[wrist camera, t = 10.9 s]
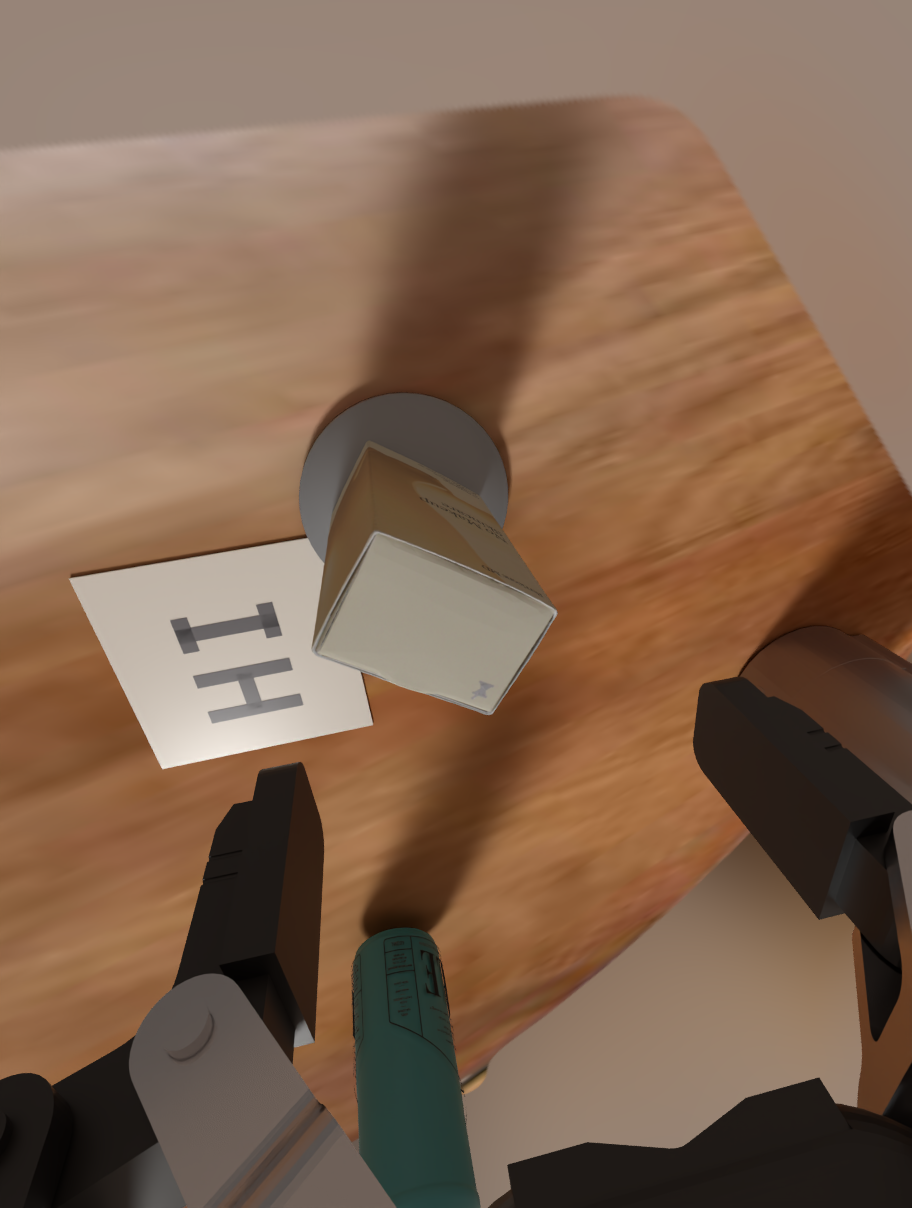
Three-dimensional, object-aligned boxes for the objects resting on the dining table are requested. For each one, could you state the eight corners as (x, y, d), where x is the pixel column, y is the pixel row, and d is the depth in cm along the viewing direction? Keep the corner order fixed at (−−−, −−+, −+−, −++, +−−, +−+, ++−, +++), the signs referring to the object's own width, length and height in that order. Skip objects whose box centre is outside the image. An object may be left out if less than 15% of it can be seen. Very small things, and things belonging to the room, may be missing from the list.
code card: (328, 533, 27) (328, 534, 27) (373, 723, 33) (373, 725, 33) (70, 577, 26) (68, 578, 26) (162, 767, 31) (162, 769, 31)
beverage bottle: (332, 947, 41) (327, 1407, 24) (388, 893, 40) (427, 1343, 22) (400, 969, 44) (440, 1395, 27) (455, 920, 43) (536, 1338, 25)
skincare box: (482, 494, 27) (573, 613, 16) (441, 569, 28) (499, 723, 18) (360, 433, 25) (373, 525, 14) (322, 517, 26) (307, 659, 15)
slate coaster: (497, 377, 25) (500, 378, 25) (511, 574, 30) (514, 579, 29) (275, 409, 24) (274, 411, 24) (326, 608, 29) (325, 614, 28)
